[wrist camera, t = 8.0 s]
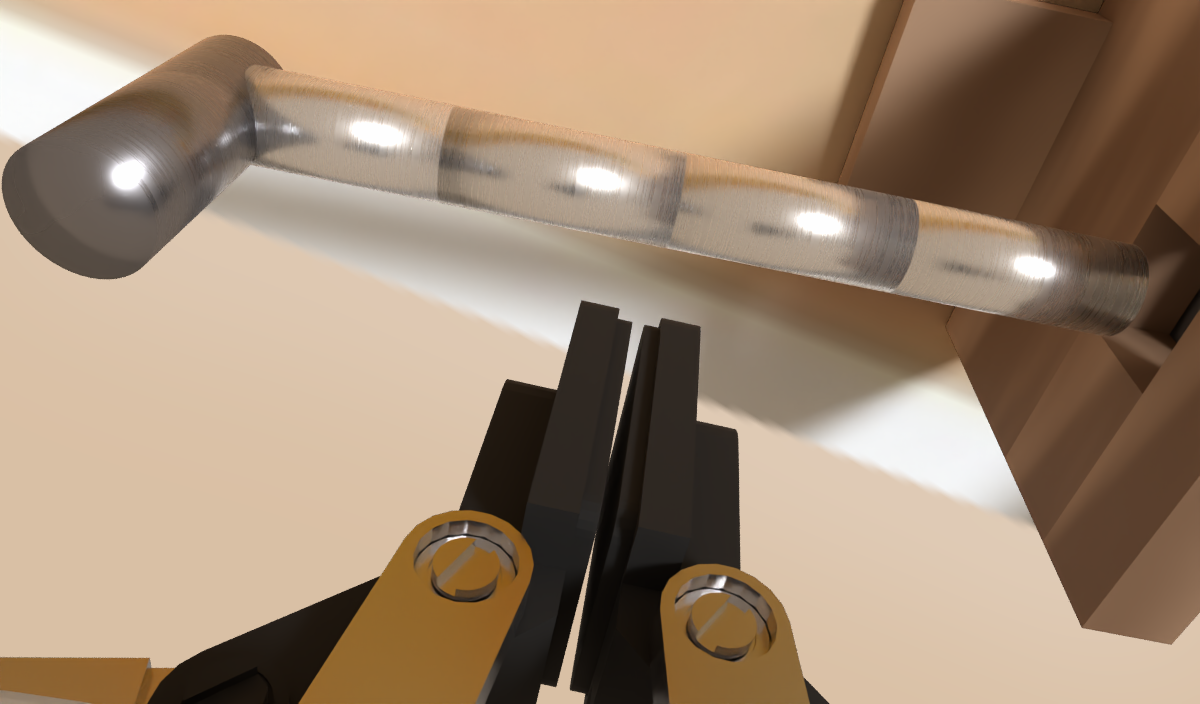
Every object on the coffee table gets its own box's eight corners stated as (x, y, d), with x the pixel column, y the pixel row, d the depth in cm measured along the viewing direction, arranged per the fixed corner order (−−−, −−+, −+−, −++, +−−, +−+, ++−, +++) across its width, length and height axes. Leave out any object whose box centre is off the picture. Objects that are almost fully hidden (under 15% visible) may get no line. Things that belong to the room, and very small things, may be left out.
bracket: (1214, -52, 22) (1645, 106, 12) (1004, 338, 29) (1171, 644, 19) (944, -111, 22) (1159, 2, 12) (796, 297, 29) (855, 584, 19)
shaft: (1126, 219, 19) (1283, 384, 14) (1072, 312, 20) (1197, 493, 15) (177, 24, 18) (-14, 125, 13) (187, 134, 20) (18, 263, 15)
